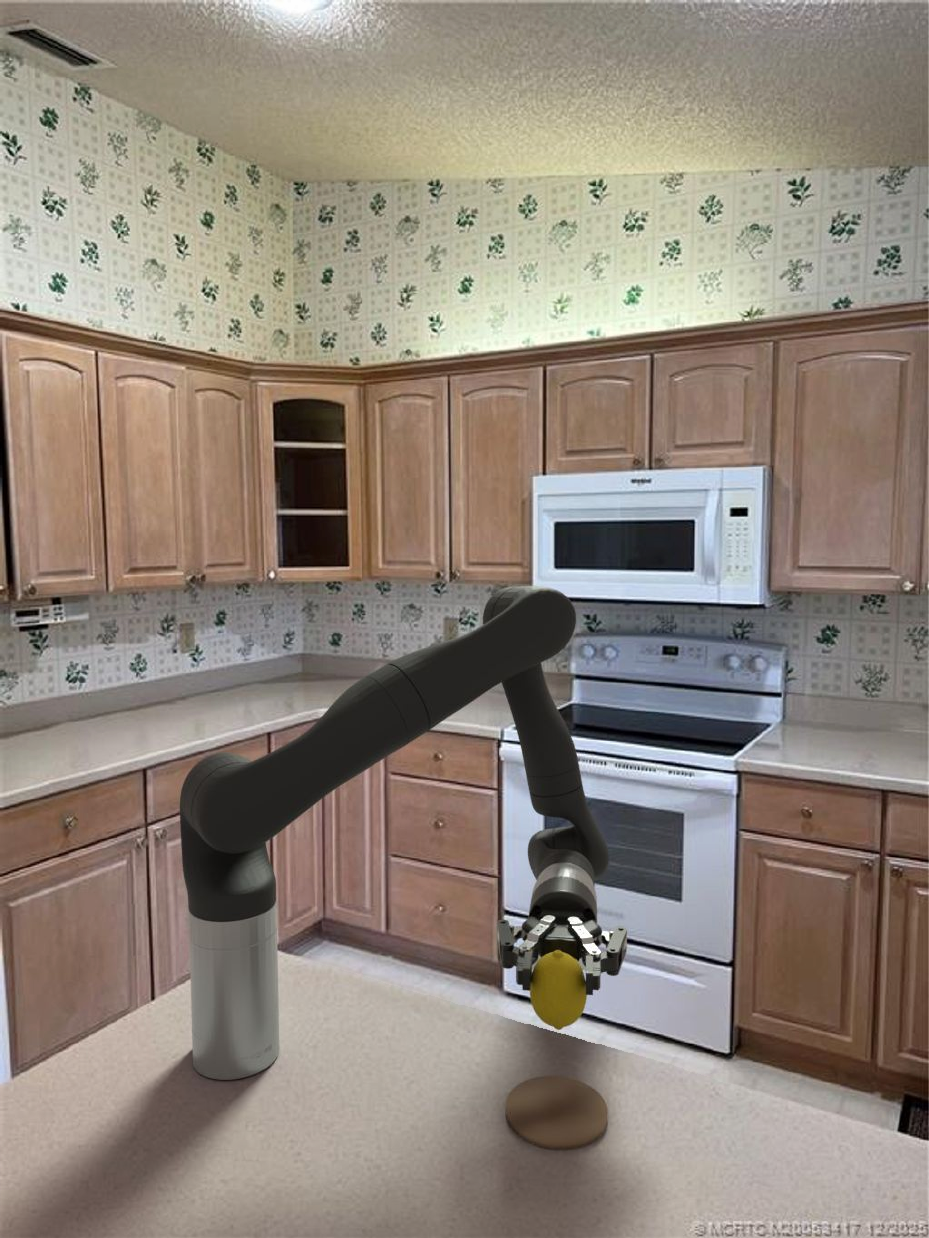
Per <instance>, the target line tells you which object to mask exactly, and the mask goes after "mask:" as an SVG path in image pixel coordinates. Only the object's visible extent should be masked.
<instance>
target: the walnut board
mask: <svg viewBox="0 0 929 1238" xmlns="http://www.w3.org/2000/svg"><path fill="white" fill-rule="evenodd" d="M608 1114H609V1112H608V1106H607V1103H606V1101H605V1099H604V1097H603V1096H602V1095H601V1094H600V1092H598V1091H597V1090H596V1089H595V1088H593V1087H592V1086H591V1085H589V1084H586V1083H585V1082H583V1081H580V1080H577V1079H575V1078H572V1077H571V1078H570V1077H567V1076H559V1075H542V1076H537V1077H532V1078H529V1079H527V1080H524V1081H522V1082H520V1083H518V1084H517V1085H515V1087H514V1088H512V1089H511V1090H510V1092H509V1093H508V1095H507V1097H506V1101H505V1118H506V1121H507V1124H508V1126H509V1127H510V1129H511V1130H512V1132H514V1133H515V1135H517V1136H518V1137H519V1138H520V1139H522V1140H524V1141H525V1142H528V1143H529V1144H532V1145H534V1146H537V1147H541V1148H544V1149H548V1150H558V1151H559V1150H560V1151H562V1150H563V1151H565V1150H567V1151H568V1150H575V1149H580V1148H584V1147H586V1146H588V1145H591V1144H592V1143H594V1142H595V1141H597V1140H598V1139H599V1138H600V1137H601V1136H602V1135H603V1134H604V1132H605V1131H606V1129H607V1126H608V1119H609V1117H608V1116H609V1115H608Z"/></svg>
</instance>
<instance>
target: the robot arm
mask: <svg viewBox="0 0 929 1238" xmlns="http://www.w3.org/2000/svg"><path fill="white" fill-rule="evenodd" d="M576 624H577V614H576V608H575V606H574V605H573V603H572V601H571V600H570V599H569V597H568V596H567V595H565V594H564V593H563V592H561V591H559V590H557V589H555V588H552V587H548V586H543V585H525V586H510V587H509V586H508V587H504V588H502V589H498V590H497V591H496V592H494V593H493V594H492V595H491V596H490V597H489V599H488V600H487V602H486V604H485V606H484V608H483V613H482V625H480V626H479V627H477V628H475V629H473V630H472V631H470V632H467V633H465V634H463V635H460V636H458V637H454V638H452V639H448V640H445V641H442V642H439V643H438V642H437V643H436V644H433V645H430V646H426V647H424V648H421V649H417V650H415V651H412V652H410V653H407V654H405V655H402V656H400V657H399V658H396V659H394V660H392V661H390V662H389V663H387V664H385V665H383V666H381V667H379V668H378V669H376V670H375V671H373V672H371V673H370V674H367V675H366V676H364V677H362V678H361V679H360V680H358V681H356V682H355V683H354V684H352V685H351V686H350V687H348V688H347V689H346V690H345V691H343V693H342V694H341V695H340V696H338V698H337V699H335V701H334V702H333V703H332V704H331V706H329V708H328V709H327V710H326V711H325V712H324V714H322V716H321V717H320V718H319V719H318V720H317V721H316V722H315V723H314V724H313V725H312V726H311V727H310V728H309V729H307V730H306V731H305V732H303V733H302V734H301V735H299V736H298V737H296V738H294V739H293V740H292V741H289V742H287V743H285V744H284V745H282V746H281V747H279V748H277V749H274V750H273V751H271V752H269V753H267V754H266V755H264V756H263V755H262V756H261V757H259V758H257V759H254V760H250V759H249V758H247V757H246V756H244V755H242V754H241V755H240V754H237V753H234V752H219V753H218V752H217V753H213V754H210V755H207V756H206V757H204V758H203V759H201V760H199V761H198V762H197V763H196V764H195V765H193V767H192V768H191V769H190V771H189V772H188V773H187V775H186V777H185V779H184V781H183V784H182V785H181V791H180V798H179V825H180V841H181V842H180V845H181V846H180V847H181V864H182V874H183V879H184V884H185V889H186V893H187V903H188V932H189V933H188V936H189V968H190V969H189V970H190V971H189V972H190V1000H191V1001H190V1005H191V1007H190V1008H191V1009H190V1010H191V1039H192V1044H191V1046H192V1064H193V1068H194V1069H195V1070H196V1072H197V1073H199V1074H200V1075H202V1076H204V1077H206V1078H208V1079H209V1078H210V1079H213V1080H220V1081H223V1080H227V1081H231V1080H238V1079H239V1080H240V1079H243V1078H248V1077H250V1076H253V1075H256V1074H258V1073H259V1072H262V1071H264V1070H265V1069H267V1068H268V1067H269V1066H271V1065H272V1064H273V1063H274V1062H275V1061H276V1059H277V1058H278V1055H279V1053H280V1014H279V1013H280V1010H279V1009H280V1007H279V1006H280V1003H279V964H278V963H279V962H278V959H279V956H278V955H279V954H278V951H279V950H278V914H277V913H278V912H277V906H278V905H277V880H276V879H277V878H276V875H275V871H274V869H273V866H272V864H271V860H270V857H269V852H268V848H267V842H268V841H270V840H271V839H272V838H274V837H276V836H277V835H278V834H279V833H280V832H282V831H283V830H284V829H286V828H287V827H288V826H290V824H292V823H293V822H294V821H296V820H297V819H298V818H299V817H301V816H302V815H303V814H305V813H306V812H307V811H308V810H309V809H310V808H312V807H313V806H314V805H316V804H317V803H318V802H320V801H321V800H322V799H324V798H325V797H326V796H327V795H329V794H330V793H332V792H333V791H334V790H336V789H337V788H340V787H341V786H342V785H344V784H345V783H347V782H349V781H351V780H352V779H354V778H355V777H357V776H359V775H360V774H362V773H363V772H365V771H367V770H368V769H370V768H371V767H373V766H374V765H376V764H378V763H379V762H381V761H382V760H384V759H385V758H388V756H390V755H392V754H394V753H395V752H397V751H399V750H400V749H402V748H404V747H405V746H407V745H408V744H410V743H412V742H413V741H416V740H417V739H418V738H419V737H422V736H423V735H424V734H426V733H428V732H429V731H430V730H432V729H433V728H435V727H437V726H438V725H439V724H440V723H442V722H444V721H445V720H446V719H447V718H450V717H451V716H453V715H454V714H455V713H457V712H459V711H460V710H463V708H465V707H466V706H468V705H469V704H472V702H474V701H475V700H477V699H478V698H480V697H481V696H482V695H484V694H485V693H487V692H488V691H490V690H491V689H493V688H495V687H496V686H498V685H499V684H501V685H502V688H503V691H504V694H505V696H506V699H507V704H508V706H509V708H510V710H509V711H510V712H511V715H512V716H511V717H512V720H513V722H514V723H513V724H514V726H515V730H516V733H517V736H518V741H519V745H520V750H521V754H522V759H523V765H524V769H525V776H526V780H527V781H526V782H527V786H528V792H529V796H530V797H529V798H530V802H531V803H530V804H531V806H532V808H533V810H534V811H535V813H536V814H538V815H540V816H544V817H548V818H549V817H550V818H557V819H563V820H567V821H569V822H570V823H571V825H570V826H569V825H568V826H562V827H555V828H554V827H553V828H545V829H541V830H539V831H537V832H535V834H533V835H532V836H531V837H530V839H529V841H528V843H527V844H528V845H527V859H528V864H529V867H530V869H531V873H532V874H533V876H534V878H535V881H536V882H535V884H534V885H533V889H532V892H531V893H532V894H531V898H530V904H529V910H528V916H527V919H526V920H525V921H523V923H522V925H521V926H519V925H517V926H514V925H512V924H510V922H509V920H507V919H499V920H497V922H496V923H497V947H498V948H497V949H498V952H499V959H500V963H501V967H502V968H503V969H506V970H507V969H508V970H510V969H512V968H514V967H515V982H516V984H517V986H522V987H521V988H522V991H529V992H530V986H531V976H532V972H533V969H534V967H535V965H536V963H537V962H538V960H539V959H540V958H542V957H543V956H544V955H546V954H548V953H551V952H554V951H555V950H560V951H561V952H564V953H566V954H569V955H570V956H572V957H573V958H574V959H575V960H576V961H577V962H578V963H579V964H580V966H581V968H582V970H584V971H585V981H586V995H587V996H593V995H594V991H599V990H600V989H601V974H603V973H606V975H608V976H611V977H616V976H618V975H619V974H620V971H621V968H622V966H623V962H624V960H625V957H626V954H627V948H628V947H627V946H628V944H627V941H628V929H627V927H625V926H619V925H618V926H616V927H615V928H614V930H610V931H603V929H602V927H601V926H600V925H599V924H598V912H599V911H598V897H597V892H596V889H595V887H596V886H595V883H596V882H595V879H599V878H600V877H603V875H604V874H605V872H606V871H607V869H608V866H609V864H610V863H609V862H610V852H609V847H608V843H607V842H606V840H605V837H604V835H603V833H602V831H601V830H600V827H599V826H598V824H597V822H596V820H595V818H594V815H593V813H592V811H591V808H590V807H589V804H588V801H587V798H586V796H585V790H584V786H583V780H582V775H581V774H582V773H581V770H580V764H579V757H578V755H577V750H576V746H575V742H574V740H573V737H572V735H571V733H570V731H569V730H570V729H569V728H568V726H567V724H566V722H565V720H564V718H563V717H562V715H561V713H560V710H559V709H558V707H557V706H556V704H555V701H554V699H553V697H552V695H551V692H550V690H549V688H548V684H547V681H546V679H545V676H544V670H543V666H542V663H543V662H545V661H547V660H549V659H551V658H553V657H555V656H556V655H558V654H559V653H560V652H561V651H562V650H563V649H564V648H566V646H567V645H568V644H569V642H570V640H571V639H572V637H573V635H574V633H575V629H576ZM521 939H522V941H523V942H522V943H521V944H519V946H515V944H517V942H518V940H521ZM602 944H603V945H605V948H606V951H604V952H601V949H599V947H600V946H601V945H602Z"/></svg>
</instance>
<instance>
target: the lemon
mask: <svg viewBox="0 0 929 1238" xmlns="http://www.w3.org/2000/svg"><path fill="white" fill-rule="evenodd" d="M587 996H588V995H586V976H585V973H584V971H583V970H582V968H581V966H580V964H579V963H578V962H577V961H576V960H575V959H574V958H573V957H572V956H570V955H569V954H566V953H564V952H561V951H560V950H555V951H554V952H551V953H548V954H546V955H544V956H543V957H542V958H540V959H539V960H538V962H537V963H536V965H535V967H534V969H533V970H532V976H531V986H530V991H529V997H530V1003H531V1005H532V1009H533V1011H534V1012H535V1014H536V1016H537V1017H538V1018H539V1019H540V1020H541V1021H542V1022H543V1023H544V1024H546V1025H548V1026H551V1027H553V1028H554V1029H556V1030H558V1031H559V1030H562V1029H564V1028H565V1027H566V1028H567V1027H568V1026H571V1025H573V1024H575V1022H577V1021H578V1020H579V1018H581V1016H582V1015H583V1012H584V1010H585V1007H586V1002H587V998H588V997H587Z"/></svg>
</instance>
